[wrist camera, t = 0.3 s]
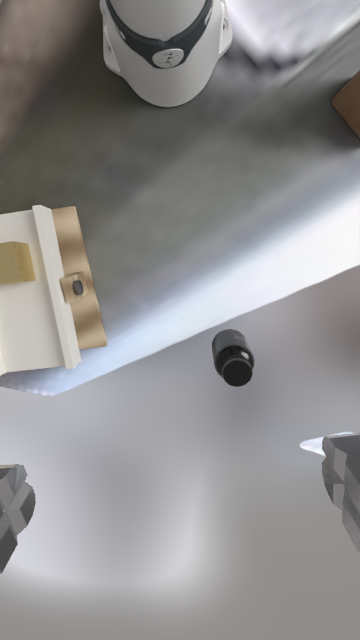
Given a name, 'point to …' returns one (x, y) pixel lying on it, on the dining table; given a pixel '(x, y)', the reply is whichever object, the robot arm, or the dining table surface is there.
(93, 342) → the stand
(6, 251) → the block
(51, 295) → the beam
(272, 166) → the dining table surface
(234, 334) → the supplement bottle
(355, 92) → the wooden block
